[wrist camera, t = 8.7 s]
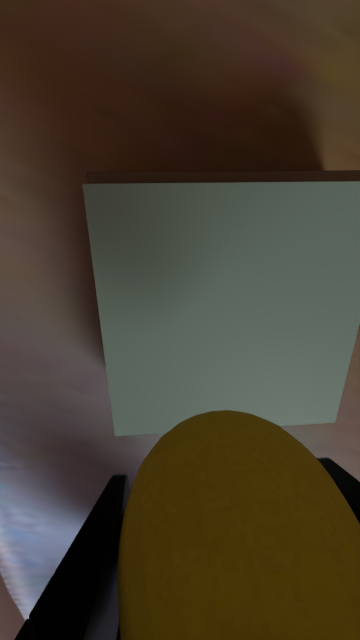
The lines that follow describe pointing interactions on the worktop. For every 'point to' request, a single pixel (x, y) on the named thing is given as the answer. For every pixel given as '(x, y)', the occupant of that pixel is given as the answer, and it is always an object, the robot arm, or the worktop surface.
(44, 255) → the worktop surface
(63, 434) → the worktop surface
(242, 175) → the tray
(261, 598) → the lemon
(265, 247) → the lid
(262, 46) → the worktop surface
